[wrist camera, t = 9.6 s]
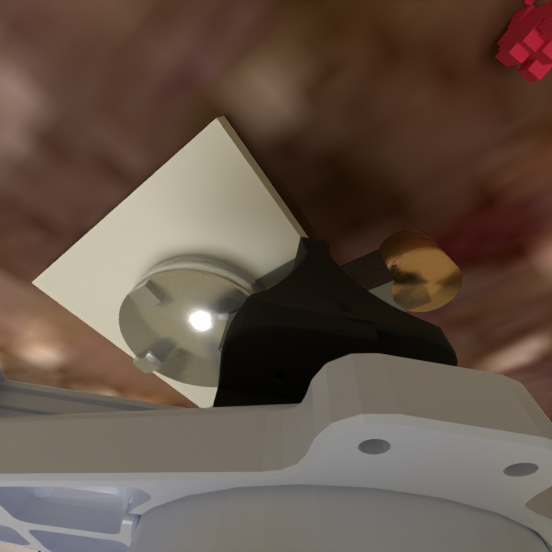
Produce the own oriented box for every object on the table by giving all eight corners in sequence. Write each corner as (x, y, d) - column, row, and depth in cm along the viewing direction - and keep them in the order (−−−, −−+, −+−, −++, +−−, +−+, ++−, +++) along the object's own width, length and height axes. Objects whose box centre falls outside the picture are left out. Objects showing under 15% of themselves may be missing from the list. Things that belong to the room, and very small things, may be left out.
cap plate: (370, 327, 20) (375, 344, 19) (207, 394, 26) (202, 410, 24) (224, 115, 13) (215, 118, 12) (49, 270, 19) (30, 283, 18)
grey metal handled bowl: (197, 376, 21) (175, 438, 18) (105, 293, 17) (51, 350, 14) (439, 288, 16) (484, 352, 12) (384, 133, 12) (426, 153, 8)
